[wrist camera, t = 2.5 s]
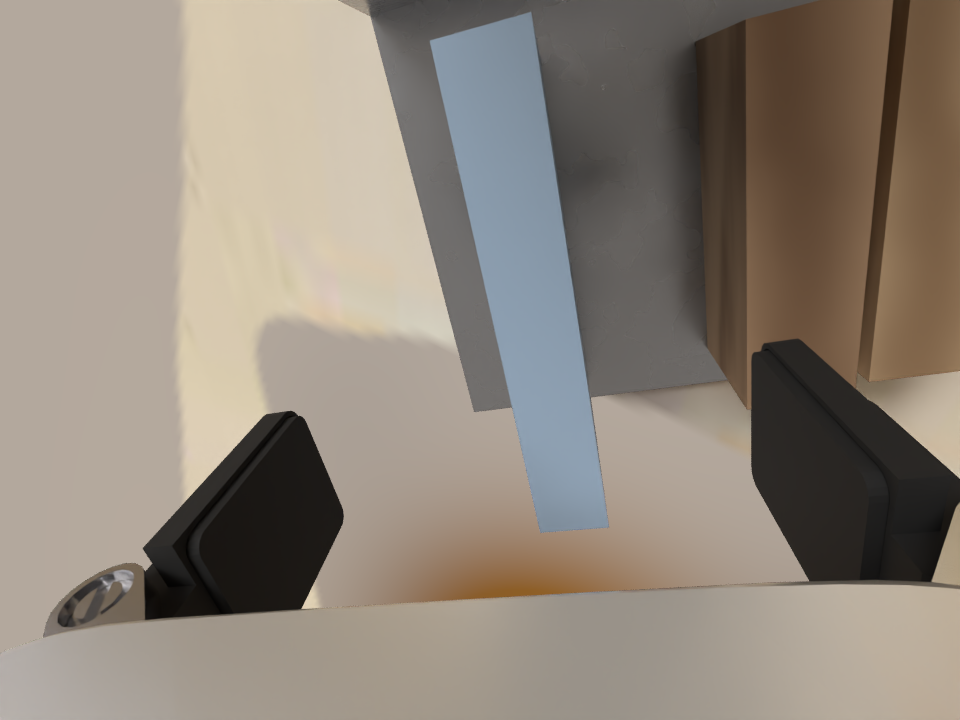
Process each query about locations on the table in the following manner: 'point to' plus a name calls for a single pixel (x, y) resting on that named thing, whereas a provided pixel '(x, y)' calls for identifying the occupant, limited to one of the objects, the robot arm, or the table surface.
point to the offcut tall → (790, 179)
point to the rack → (581, 176)
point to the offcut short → (916, 201)
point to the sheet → (525, 259)
